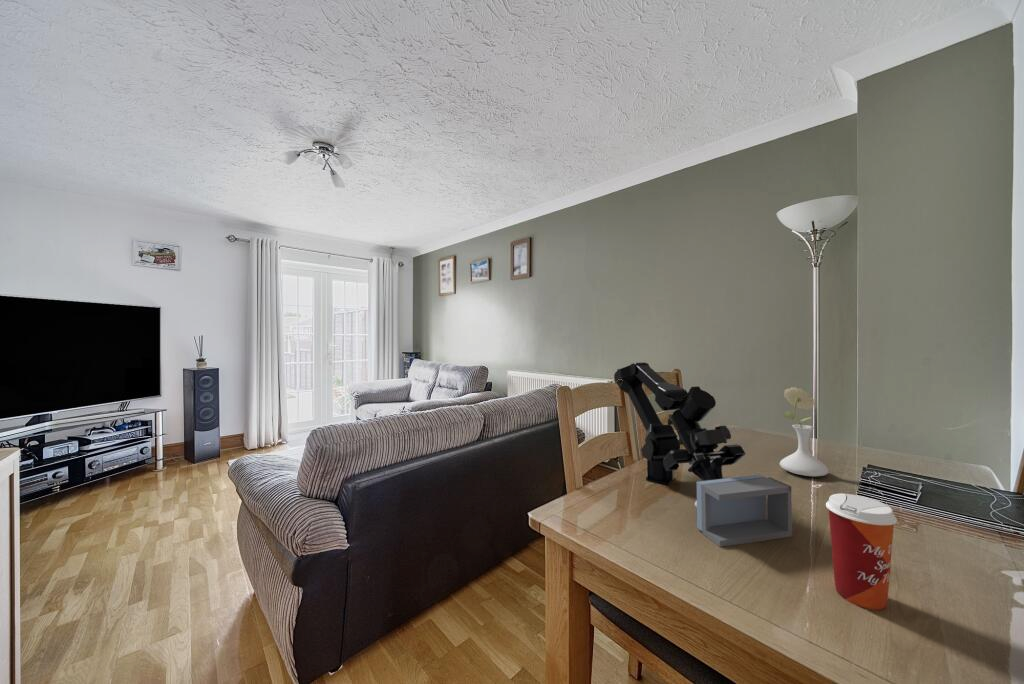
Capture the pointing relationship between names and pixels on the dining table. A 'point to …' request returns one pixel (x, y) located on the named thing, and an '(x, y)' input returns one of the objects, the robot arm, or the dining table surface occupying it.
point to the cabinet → (755, 530)
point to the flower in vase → (802, 439)
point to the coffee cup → (861, 548)
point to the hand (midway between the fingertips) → (721, 493)
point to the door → (731, 506)
